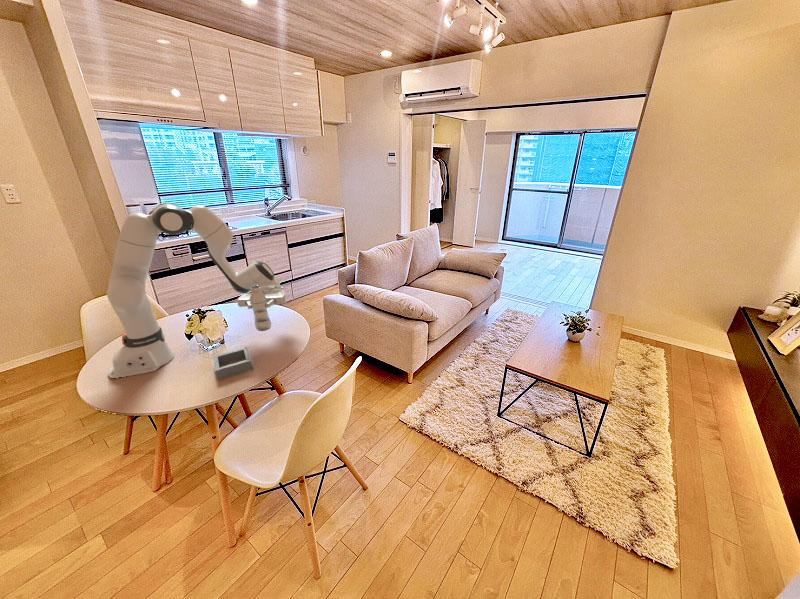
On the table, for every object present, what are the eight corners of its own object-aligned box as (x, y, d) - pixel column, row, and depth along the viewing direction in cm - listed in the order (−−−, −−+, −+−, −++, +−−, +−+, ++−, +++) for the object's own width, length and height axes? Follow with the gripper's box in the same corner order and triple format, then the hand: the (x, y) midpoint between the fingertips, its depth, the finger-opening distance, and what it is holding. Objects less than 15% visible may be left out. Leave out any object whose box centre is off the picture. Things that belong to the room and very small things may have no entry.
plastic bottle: (266, 333, 137) (258, 290, 129) (252, 332, 138) (243, 289, 131) (274, 326, 143) (267, 285, 135) (261, 325, 144) (252, 284, 136)
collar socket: (218, 380, 126) (215, 370, 124) (215, 364, 135) (213, 356, 133) (253, 369, 132) (251, 360, 130) (248, 355, 141) (246, 346, 140)
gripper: (240, 289, 145) (231, 301, 133) (287, 286, 148) (282, 298, 136) (243, 301, 148) (234, 315, 135) (289, 298, 151) (284, 311, 138)
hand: (258, 306), depth 135 cm, fingers closed on plastic bottle, 6 cm apart
